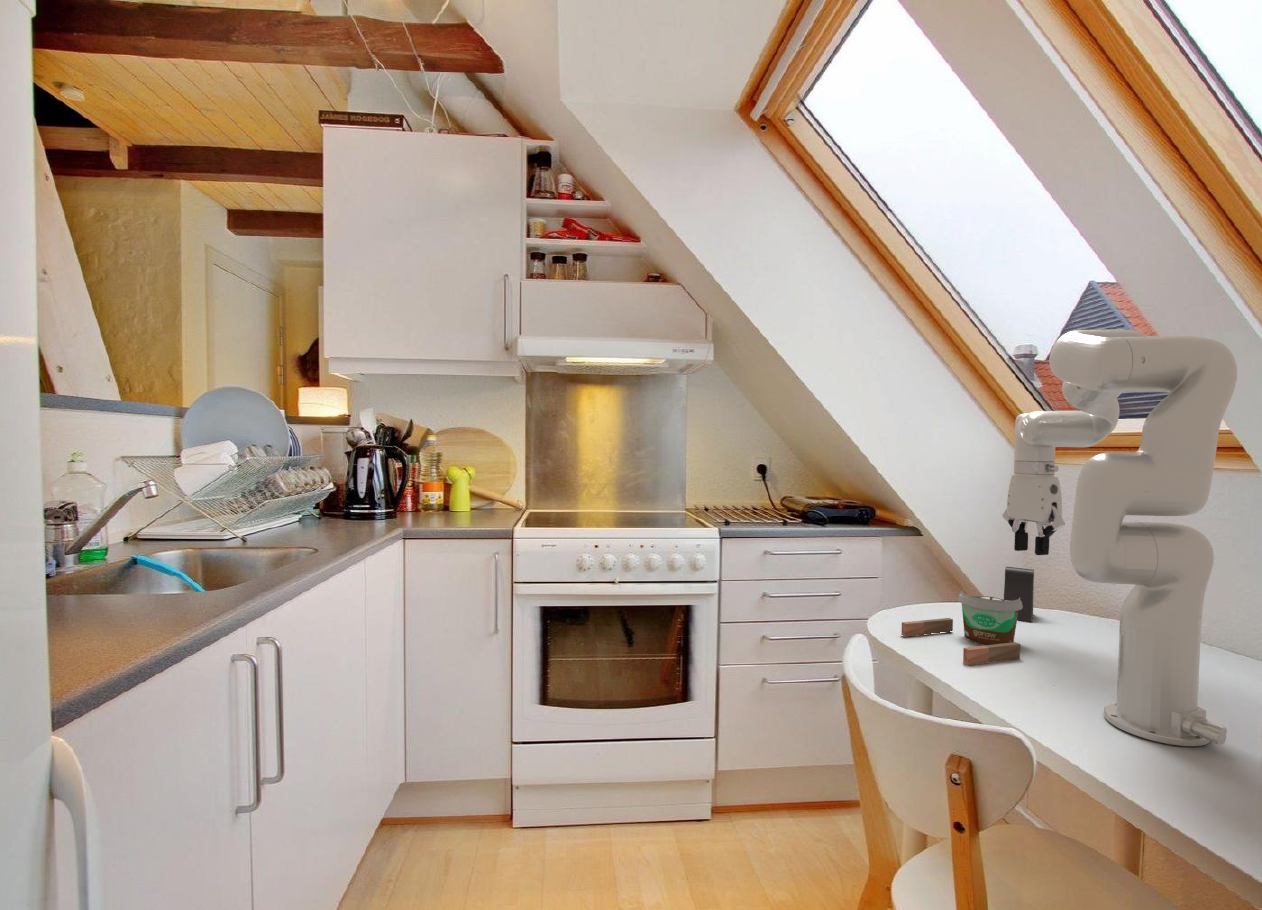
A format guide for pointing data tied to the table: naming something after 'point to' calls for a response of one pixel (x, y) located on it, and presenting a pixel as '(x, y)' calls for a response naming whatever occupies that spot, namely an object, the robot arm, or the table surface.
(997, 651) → the lane walls
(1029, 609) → the phone stand
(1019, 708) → the table surface
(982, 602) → the food container
